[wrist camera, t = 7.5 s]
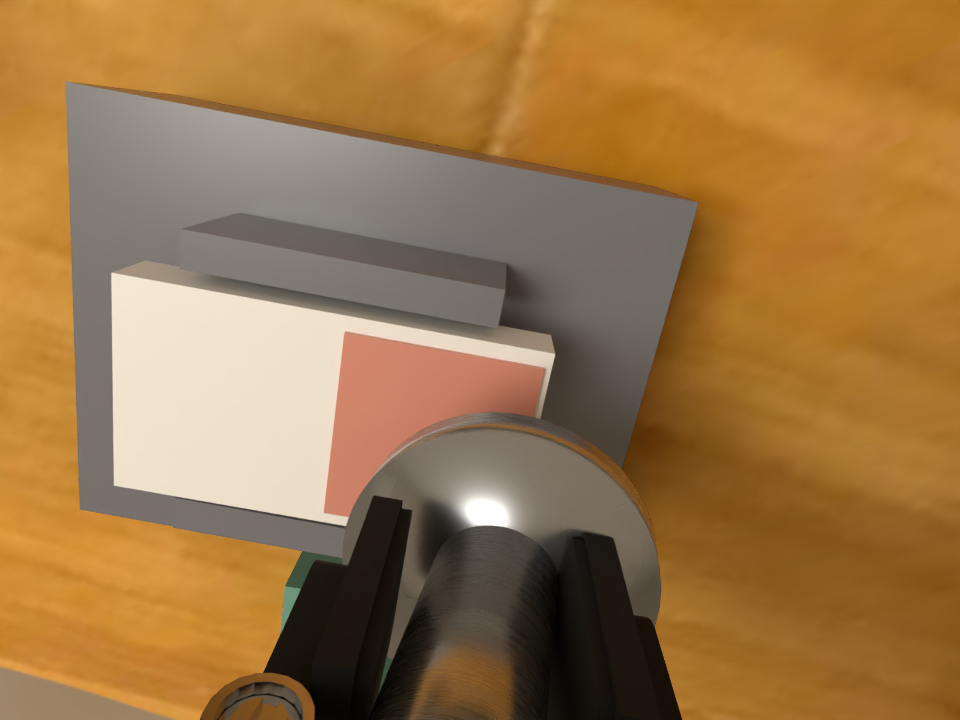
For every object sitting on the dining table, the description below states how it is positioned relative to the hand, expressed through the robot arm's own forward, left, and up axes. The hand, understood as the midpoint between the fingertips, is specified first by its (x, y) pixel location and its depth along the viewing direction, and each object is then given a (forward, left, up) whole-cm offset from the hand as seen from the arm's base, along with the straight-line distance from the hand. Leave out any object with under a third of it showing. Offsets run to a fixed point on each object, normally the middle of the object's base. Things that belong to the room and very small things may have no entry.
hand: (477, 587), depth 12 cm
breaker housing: (+4, 0, -15) cm, 16 cm away
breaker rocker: (+4, 0, -6) cm, 8 cm away
